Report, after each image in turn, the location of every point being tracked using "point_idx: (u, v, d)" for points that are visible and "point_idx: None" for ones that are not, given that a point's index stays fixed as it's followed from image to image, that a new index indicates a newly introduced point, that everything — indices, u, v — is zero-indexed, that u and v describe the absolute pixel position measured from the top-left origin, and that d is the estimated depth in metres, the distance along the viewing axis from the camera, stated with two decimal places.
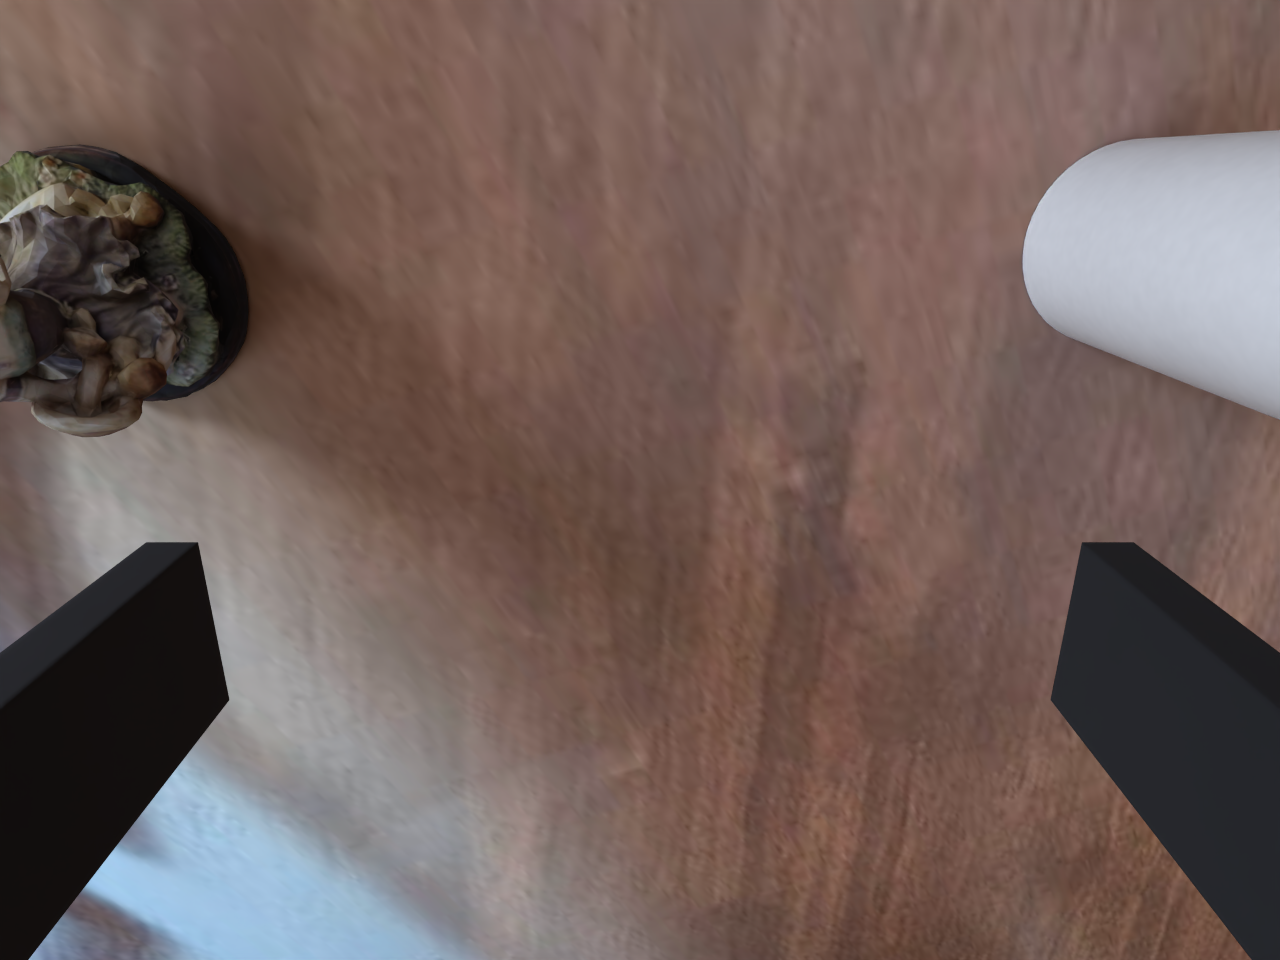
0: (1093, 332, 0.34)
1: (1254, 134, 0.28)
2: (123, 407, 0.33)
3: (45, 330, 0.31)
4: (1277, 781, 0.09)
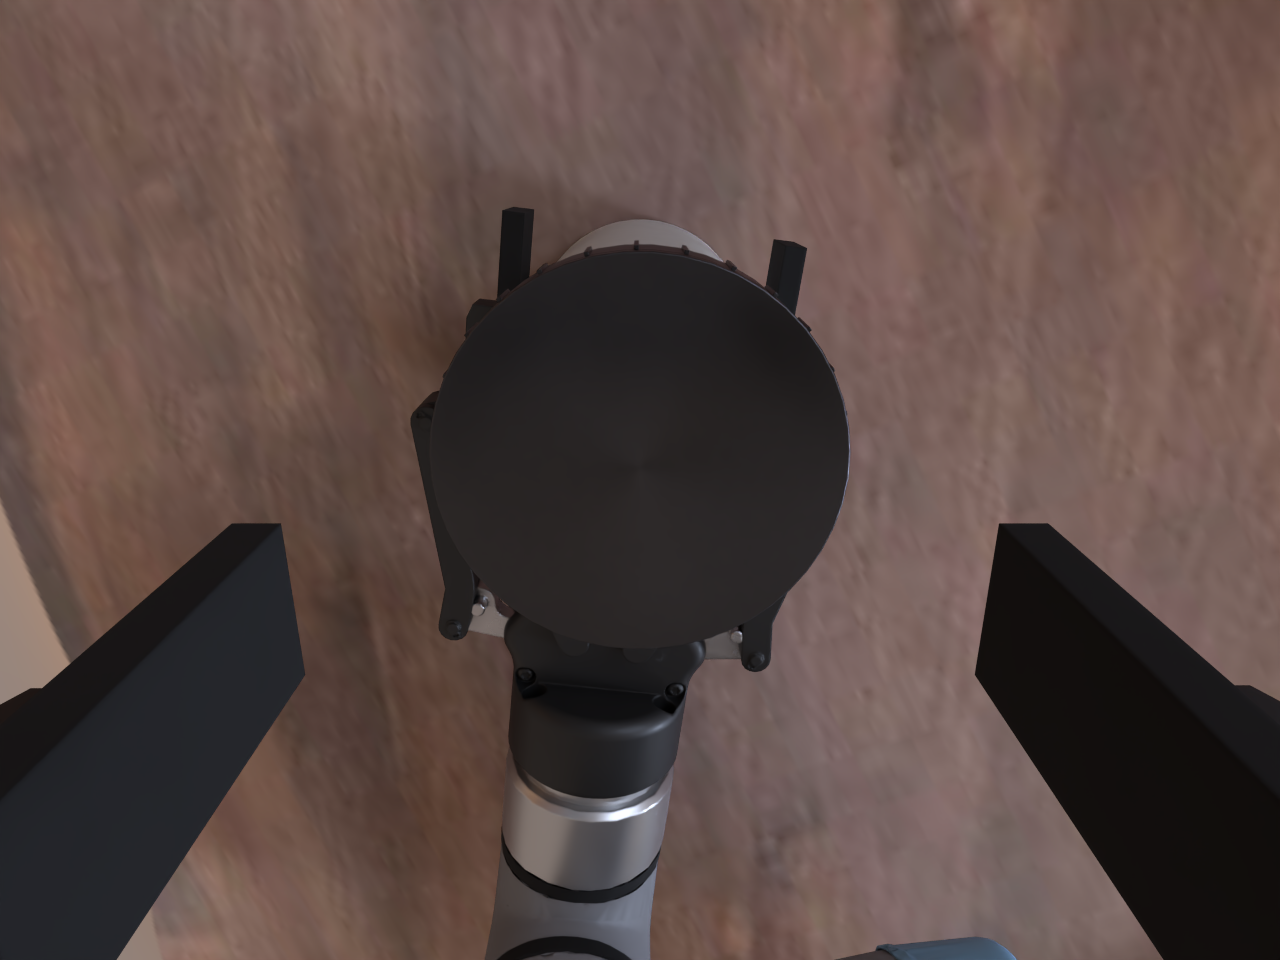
0: None
1: None
2: None
3: None
4: (1146, 737, 0.09)
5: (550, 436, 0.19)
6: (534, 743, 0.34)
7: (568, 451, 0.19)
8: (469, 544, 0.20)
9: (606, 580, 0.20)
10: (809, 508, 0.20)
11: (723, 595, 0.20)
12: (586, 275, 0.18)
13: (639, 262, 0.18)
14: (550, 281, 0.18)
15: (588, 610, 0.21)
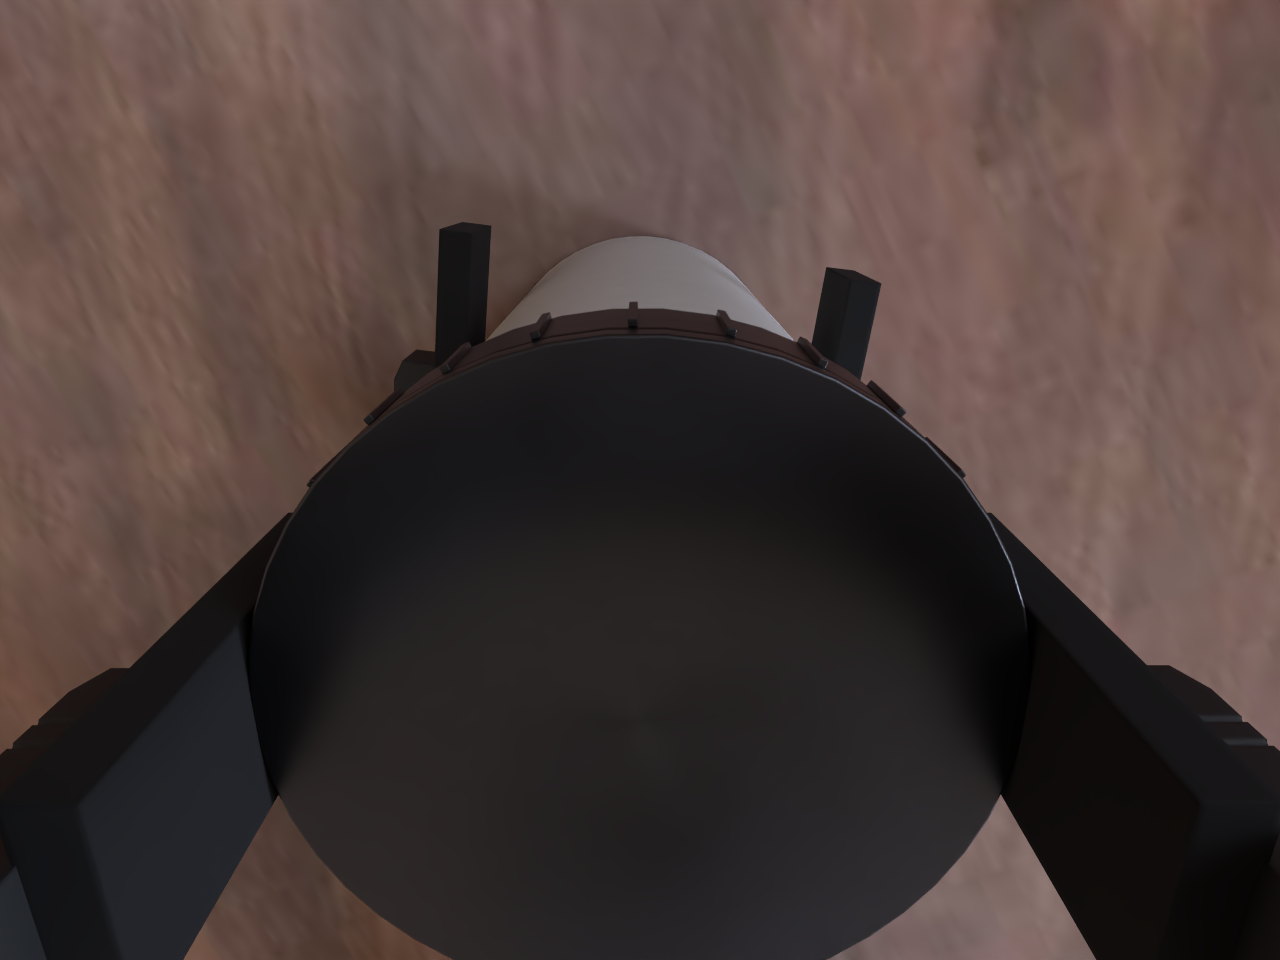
0: None
1: None
2: None
3: None
4: (1063, 713, 0.10)
5: (472, 668, 0.10)
6: None
7: (507, 692, 0.10)
8: (333, 843, 0.11)
9: (580, 899, 0.12)
10: (948, 786, 0.11)
11: (787, 921, 0.12)
12: (534, 380, 0.09)
13: (638, 356, 0.09)
14: (462, 392, 0.09)
15: (549, 943, 0.12)
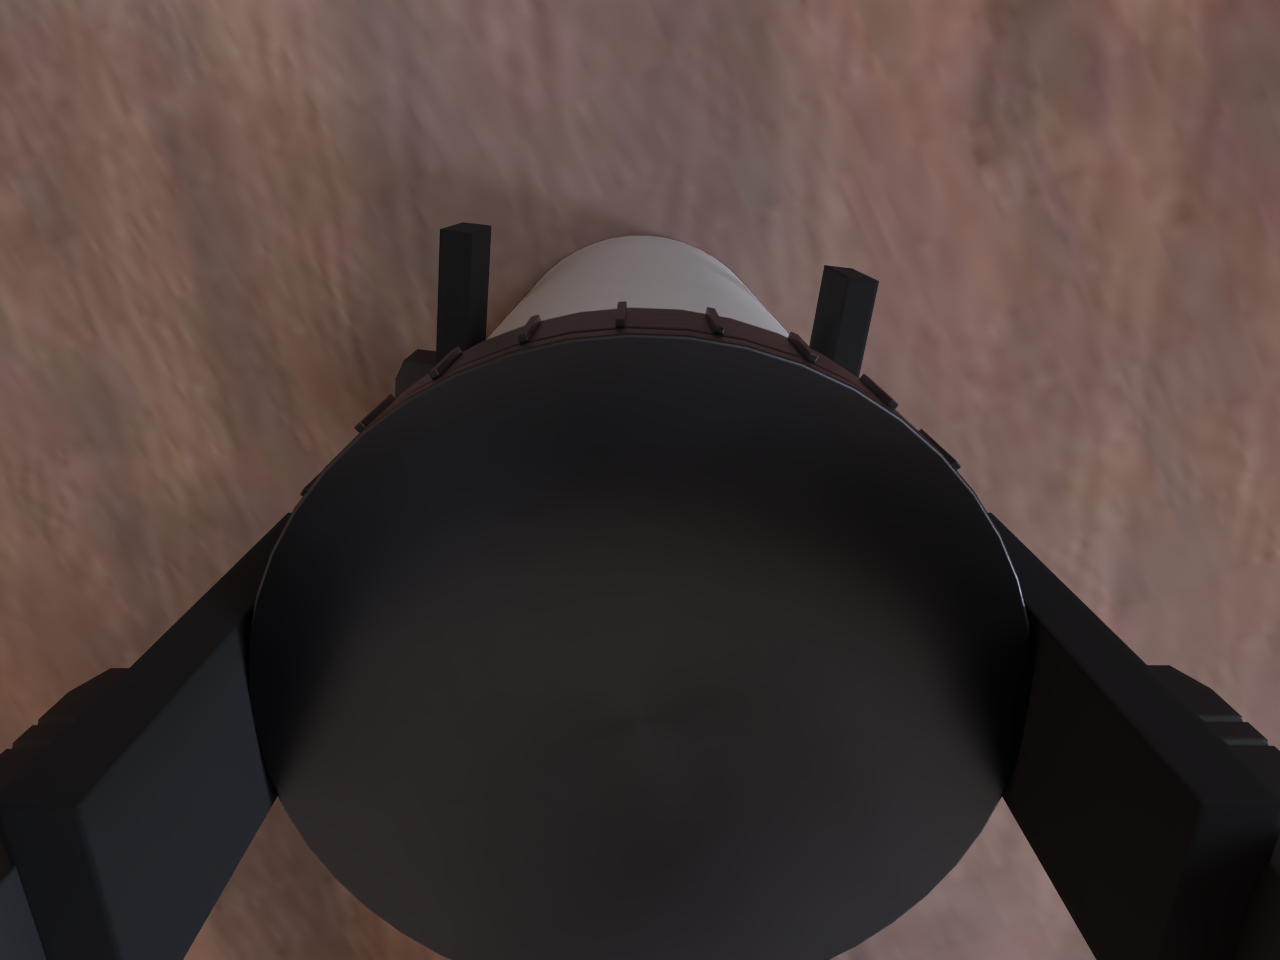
0: None
1: None
2: None
3: None
4: (1063, 713, 0.10)
5: (659, 856, 0.11)
6: None
7: (668, 826, 0.11)
8: (904, 889, 0.11)
9: (881, 678, 0.10)
10: (553, 411, 0.09)
11: (820, 469, 0.09)
12: (396, 904, 0.12)
13: (333, 855, 0.11)
14: (435, 939, 0.12)
15: (957, 681, 0.10)
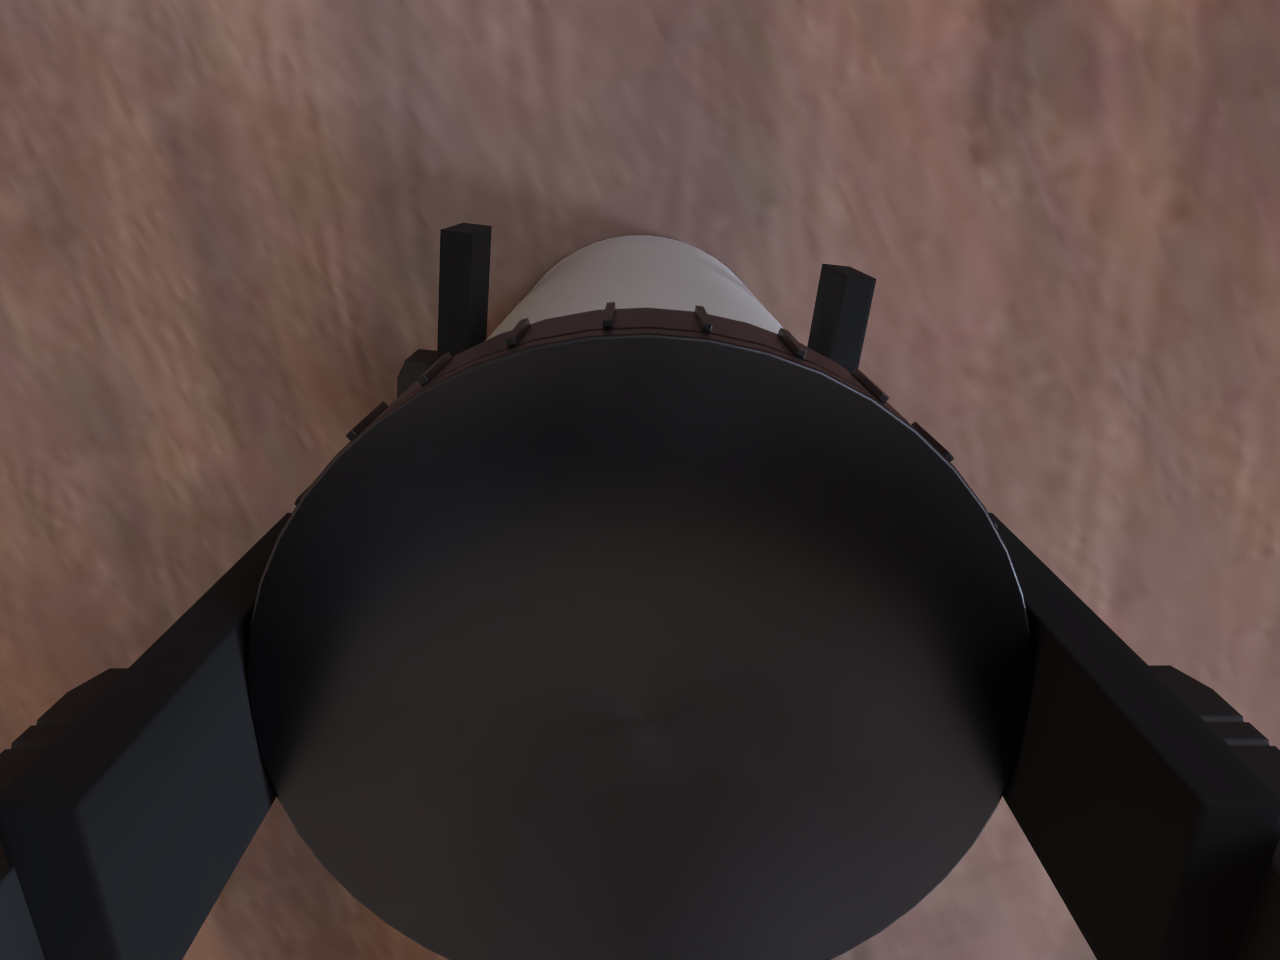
0: None
1: None
2: None
3: None
4: (1064, 714, 0.10)
5: (789, 636, 0.10)
6: None
7: (746, 646, 0.10)
8: (711, 371, 0.09)
9: (474, 551, 0.10)
10: (409, 887, 0.11)
11: (325, 706, 0.10)
12: (960, 823, 0.11)
13: (917, 886, 0.11)
14: (994, 778, 0.11)
15: (432, 483, 0.09)
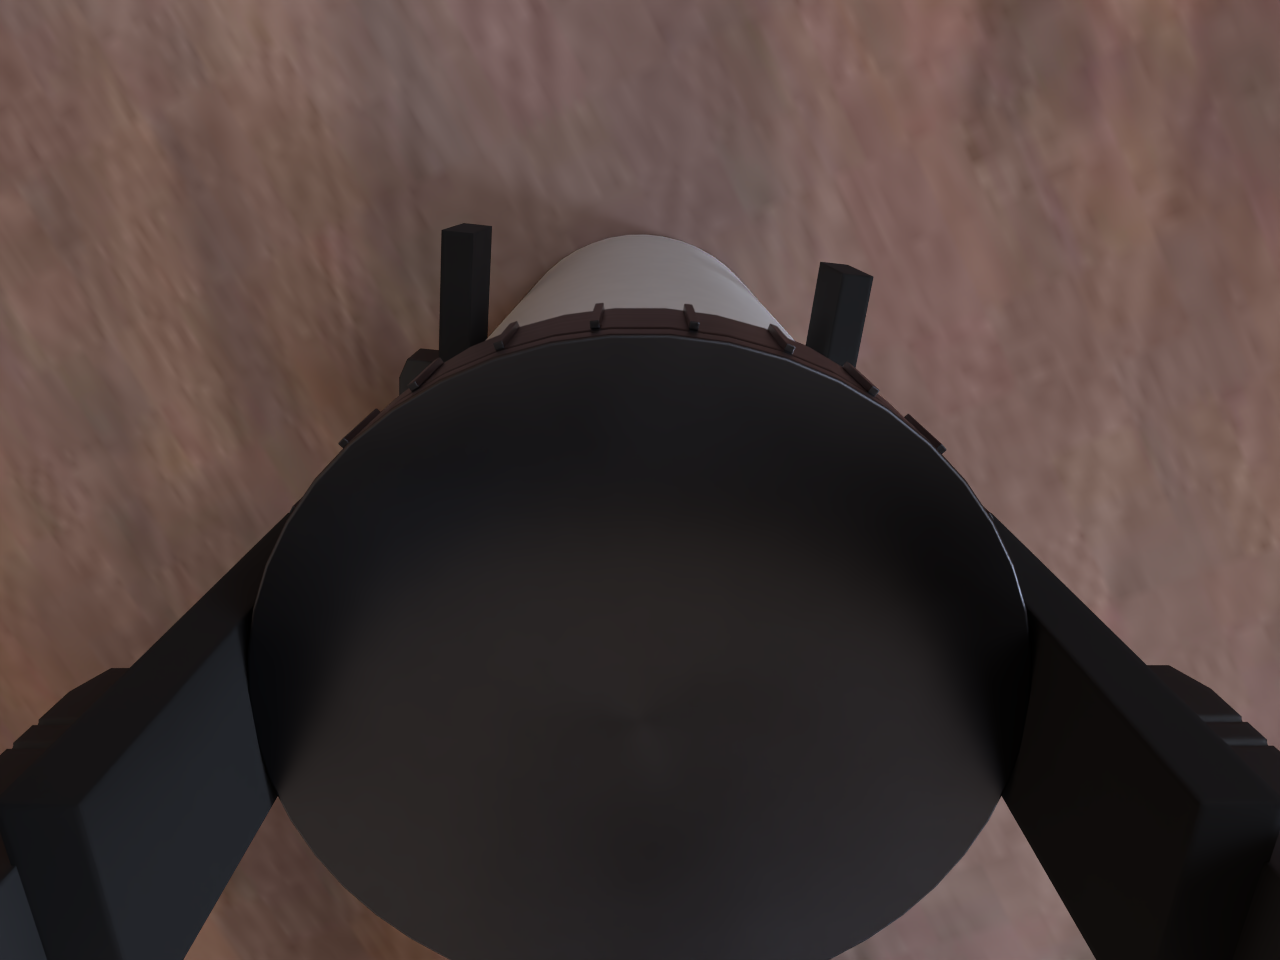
0: (748, 290, 0.23)
1: None
2: None
3: None
4: (1063, 713, 0.10)
5: (480, 649, 0.10)
6: None
7: (511, 677, 0.10)
8: (309, 809, 0.11)
9: (551, 892, 0.11)
10: (930, 821, 0.11)
11: (752, 935, 0.12)
12: (590, 370, 0.09)
13: (698, 359, 0.09)
14: (516, 371, 0.09)
15: (512, 933, 0.12)
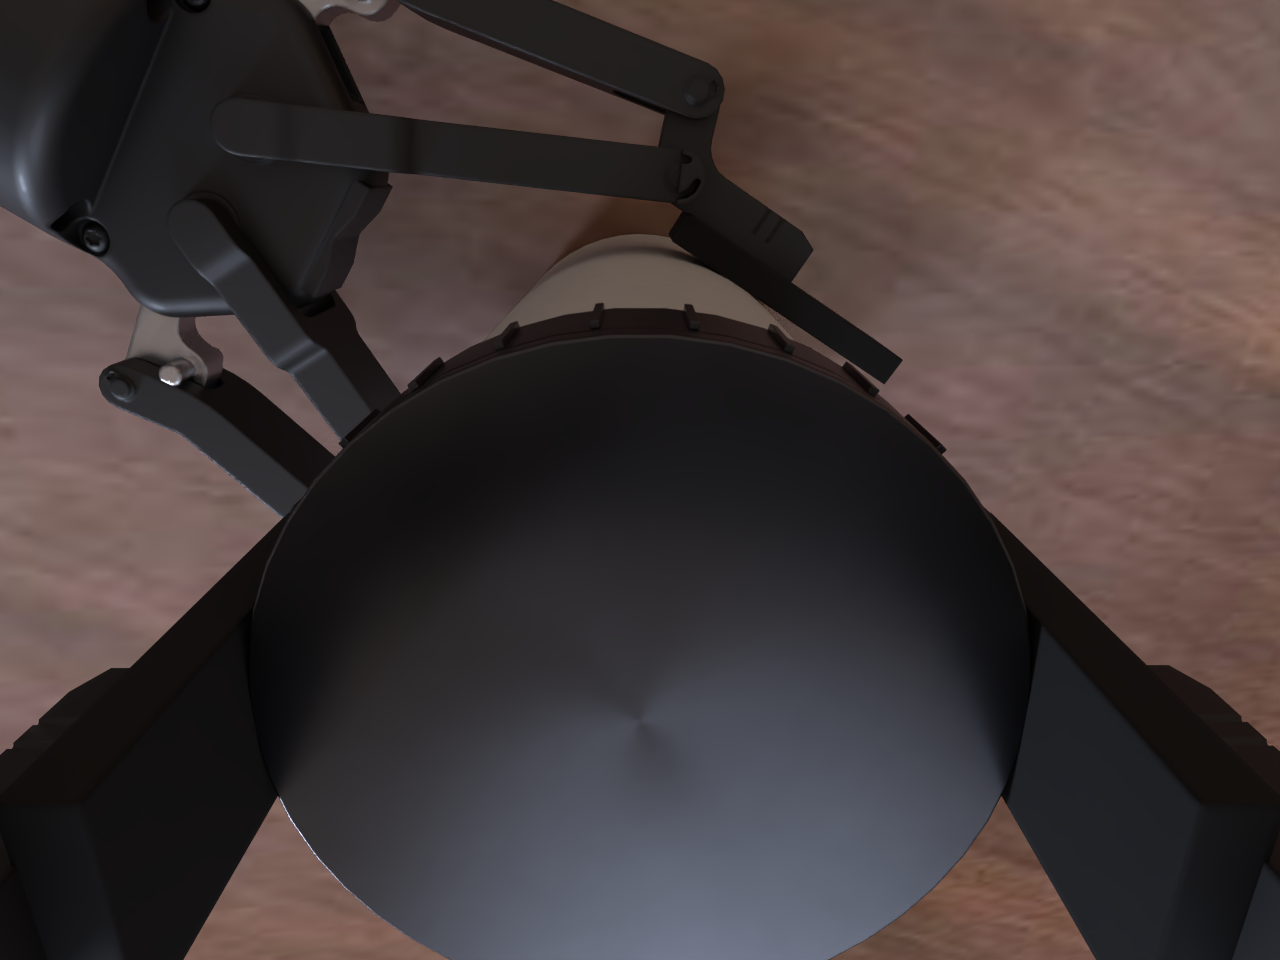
0: None
1: None
2: None
3: None
4: (1062, 713, 0.10)
5: (480, 649, 0.10)
6: None
7: (511, 677, 0.10)
8: (309, 808, 0.11)
9: (550, 891, 0.11)
10: (930, 821, 0.11)
11: (751, 935, 0.12)
12: (590, 369, 0.09)
13: (699, 359, 0.09)
14: (516, 371, 0.09)
15: (512, 933, 0.12)
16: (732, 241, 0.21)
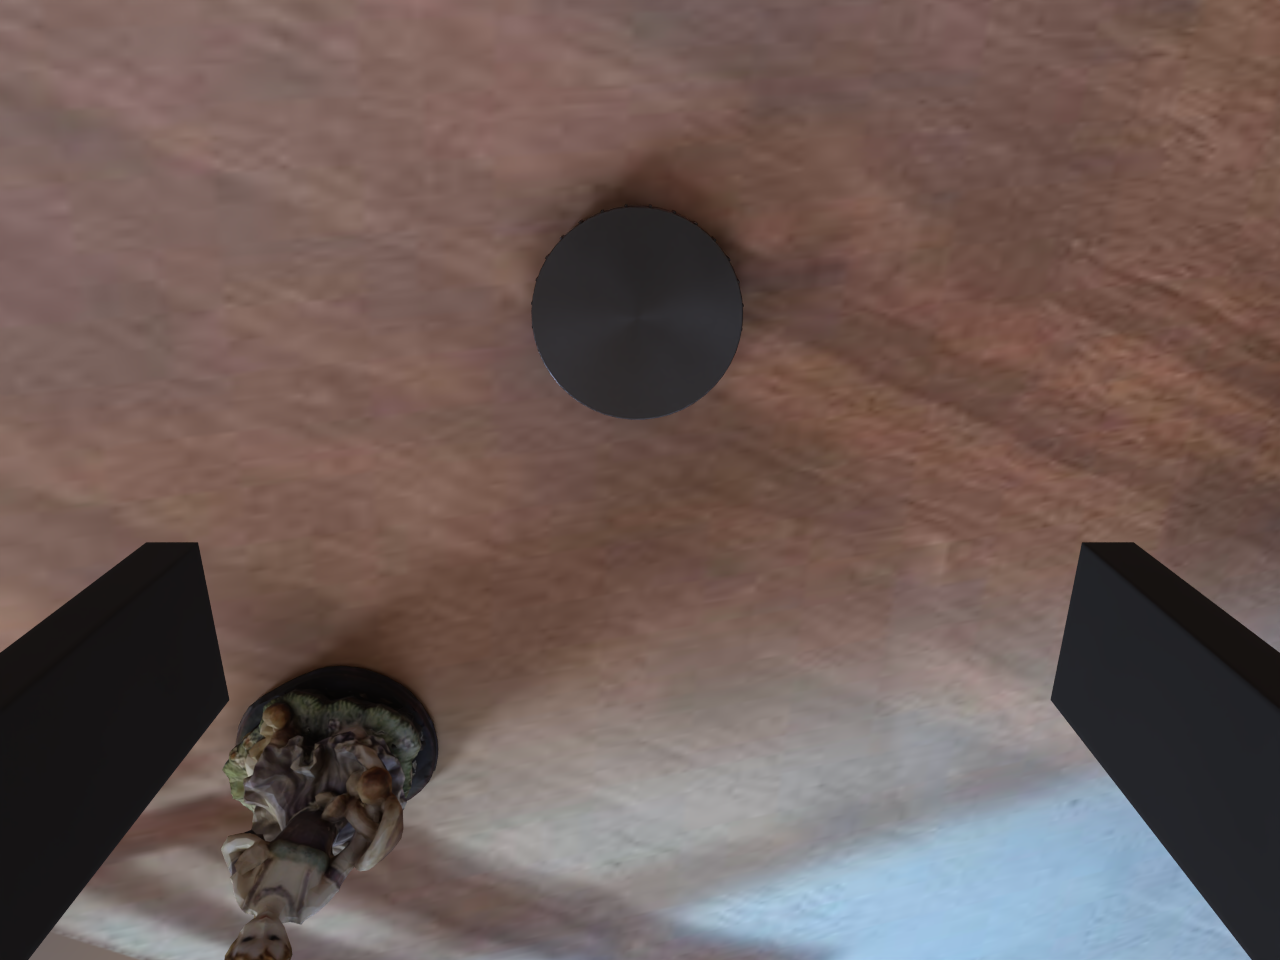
0: None
1: None
2: (383, 811, 0.41)
3: (309, 831, 0.41)
4: (1277, 781, 0.09)
5: (595, 295, 0.38)
6: None
7: (603, 304, 0.38)
8: (544, 347, 0.39)
9: (611, 377, 0.39)
10: (719, 351, 0.39)
11: (670, 393, 0.40)
12: (625, 216, 0.37)
13: (651, 213, 0.37)
14: (607, 216, 0.37)
15: (600, 392, 0.40)
16: None
